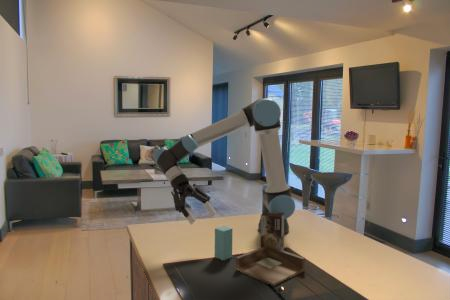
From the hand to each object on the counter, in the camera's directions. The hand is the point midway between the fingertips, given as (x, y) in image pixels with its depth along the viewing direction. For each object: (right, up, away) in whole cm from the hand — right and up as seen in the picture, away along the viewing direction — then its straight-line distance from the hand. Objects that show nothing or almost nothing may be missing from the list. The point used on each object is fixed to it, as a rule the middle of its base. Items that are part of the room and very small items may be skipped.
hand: (204, 218), depth 158 cm
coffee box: (+29, -14, +3) cm, 32 cm away
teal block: (+8, -15, -4) cm, 17 cm away
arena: (+25, -16, -16) cm, 34 cm away
